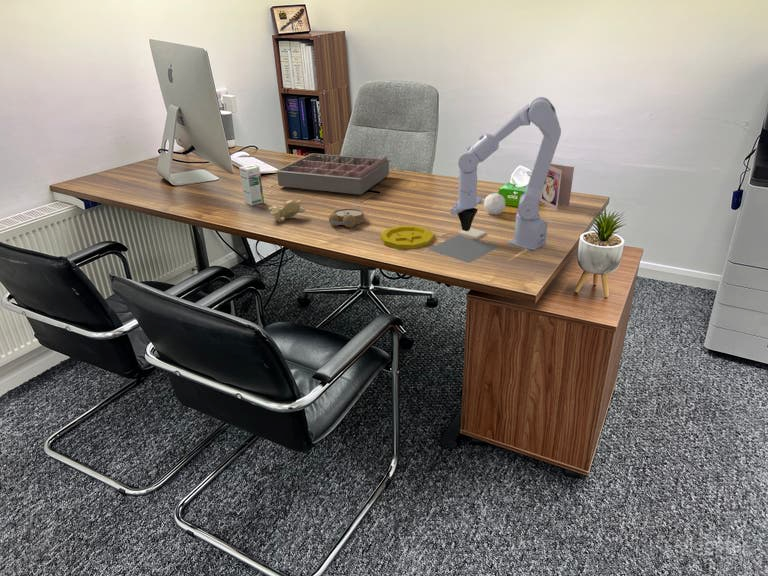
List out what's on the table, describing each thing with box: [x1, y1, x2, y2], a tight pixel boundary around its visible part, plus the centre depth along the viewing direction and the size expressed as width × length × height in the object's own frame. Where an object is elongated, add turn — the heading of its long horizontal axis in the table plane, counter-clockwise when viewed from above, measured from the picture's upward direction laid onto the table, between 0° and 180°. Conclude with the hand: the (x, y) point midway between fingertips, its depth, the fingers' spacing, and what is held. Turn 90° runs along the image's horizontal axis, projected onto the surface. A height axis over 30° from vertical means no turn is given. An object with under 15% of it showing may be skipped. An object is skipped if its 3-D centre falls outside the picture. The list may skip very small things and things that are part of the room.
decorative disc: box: [380, 225, 435, 250], centre depth 184 cm, size 17×18×2 cm
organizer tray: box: [274, 153, 392, 196], centre depth 243 cm, size 32×40×10 cm
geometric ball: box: [483, 192, 506, 216], centre depth 203 cm, size 8×8×8 cm
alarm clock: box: [328, 208, 365, 229], centre depth 199 cm, size 11×5×15 cm
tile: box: [457, 227, 487, 240], centre depth 187 cm, size 7×2×6 cm
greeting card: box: [540, 163, 575, 211], centre depth 209 cm, size 11×7×15 cm, turn 18°
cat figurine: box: [268, 199, 306, 223], centre depth 204 cm, size 8×7×12 cm
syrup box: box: [239, 164, 265, 206], centre depth 220 cm, size 6×6×14 cm
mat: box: [427, 234, 499, 264], centre depth 176 cm, size 16×16×1 cm
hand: (465, 230), depth 183 cm, fingers closed
